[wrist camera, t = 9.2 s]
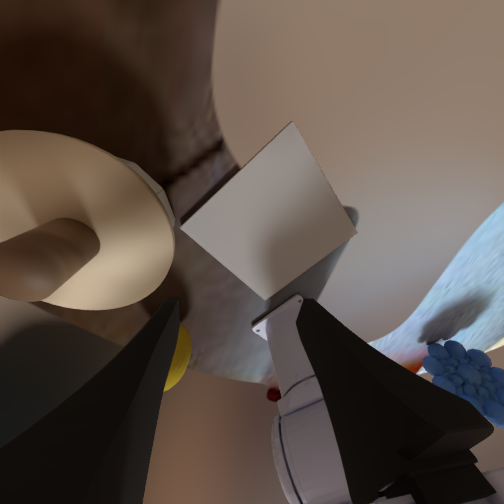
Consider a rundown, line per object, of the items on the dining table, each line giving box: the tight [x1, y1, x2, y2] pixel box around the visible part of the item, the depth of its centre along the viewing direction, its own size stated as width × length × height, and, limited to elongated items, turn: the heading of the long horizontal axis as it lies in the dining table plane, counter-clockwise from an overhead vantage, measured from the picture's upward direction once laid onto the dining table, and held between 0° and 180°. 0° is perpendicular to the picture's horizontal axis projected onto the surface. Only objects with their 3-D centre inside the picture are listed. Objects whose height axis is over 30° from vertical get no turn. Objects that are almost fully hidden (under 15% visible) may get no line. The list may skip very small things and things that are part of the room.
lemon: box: [163, 323, 191, 392], centre depth 20 cm, size 6×6×8 cm
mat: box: [180, 121, 357, 300], centre depth 20 cm, size 13×13×1 cm
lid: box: [0, 130, 175, 310], centre depth 11 cm, size 12×12×5 cm
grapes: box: [423, 340, 504, 428], centre depth 31 cm, size 12×7×12 cm, turn 101°
